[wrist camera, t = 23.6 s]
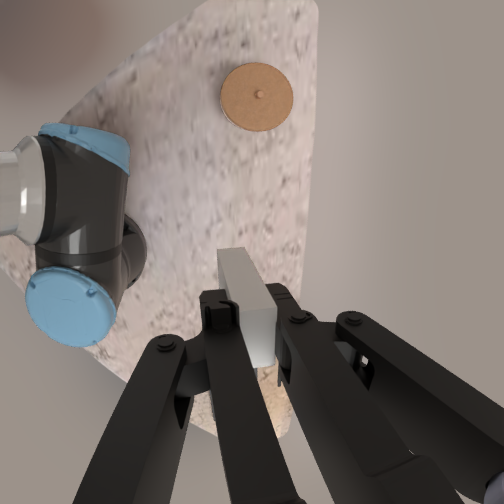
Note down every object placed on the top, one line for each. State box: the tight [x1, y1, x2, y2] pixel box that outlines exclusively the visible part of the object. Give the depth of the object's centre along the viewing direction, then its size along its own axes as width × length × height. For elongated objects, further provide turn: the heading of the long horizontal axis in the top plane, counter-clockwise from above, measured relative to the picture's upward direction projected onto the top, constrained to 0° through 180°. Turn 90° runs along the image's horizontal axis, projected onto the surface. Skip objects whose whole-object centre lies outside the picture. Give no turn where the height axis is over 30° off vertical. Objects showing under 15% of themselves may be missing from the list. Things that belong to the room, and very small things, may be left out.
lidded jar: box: [220, 63, 293, 132], centre depth 43 cm, size 11×11×9 cm
